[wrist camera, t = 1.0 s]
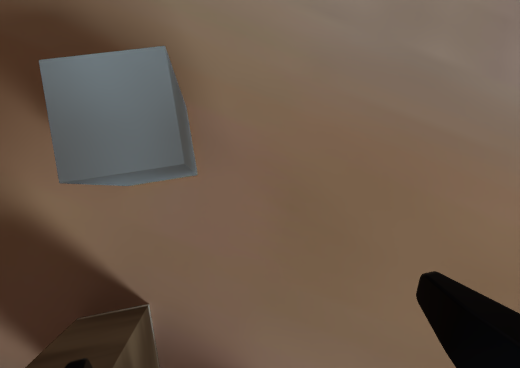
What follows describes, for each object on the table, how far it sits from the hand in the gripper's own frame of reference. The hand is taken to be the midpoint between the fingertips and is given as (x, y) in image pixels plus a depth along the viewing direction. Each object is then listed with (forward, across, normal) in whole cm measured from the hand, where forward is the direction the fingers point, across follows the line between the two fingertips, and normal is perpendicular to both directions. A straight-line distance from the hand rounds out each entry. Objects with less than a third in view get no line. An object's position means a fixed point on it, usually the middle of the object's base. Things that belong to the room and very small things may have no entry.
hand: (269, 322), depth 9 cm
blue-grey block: (+14, +3, +1) cm, 15 cm away
